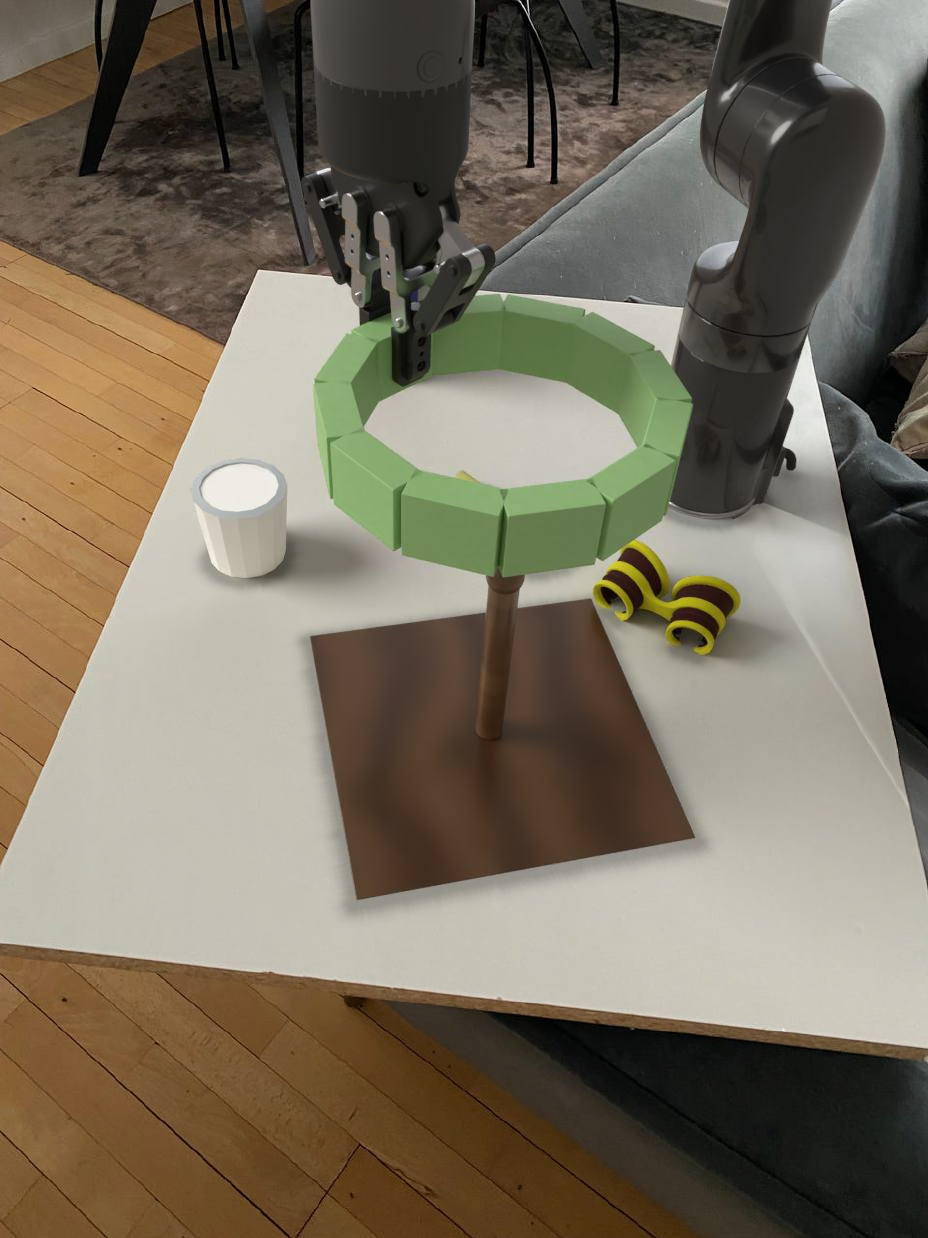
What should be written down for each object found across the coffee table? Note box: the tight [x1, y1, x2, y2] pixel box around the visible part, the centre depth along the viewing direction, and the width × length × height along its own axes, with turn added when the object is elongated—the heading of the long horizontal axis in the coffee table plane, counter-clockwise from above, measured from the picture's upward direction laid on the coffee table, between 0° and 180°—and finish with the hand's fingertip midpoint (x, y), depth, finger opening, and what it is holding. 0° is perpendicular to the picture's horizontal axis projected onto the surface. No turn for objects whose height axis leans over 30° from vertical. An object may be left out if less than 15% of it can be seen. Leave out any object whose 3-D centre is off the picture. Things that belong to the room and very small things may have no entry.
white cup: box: [190, 457, 288, 579], centre depth 78 cm, size 7×7×7 cm
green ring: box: [312, 293, 693, 577], centre depth 57 cm, size 20×20×4 cm
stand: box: [309, 566, 696, 901], centre depth 64 cm, size 21×21×16 cm
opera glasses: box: [592, 539, 741, 656], centre depth 76 cm, size 10×5×5 cm, turn 56°
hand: (394, 368), depth 62 cm, fingers closed on green ring, 2 cm apart
